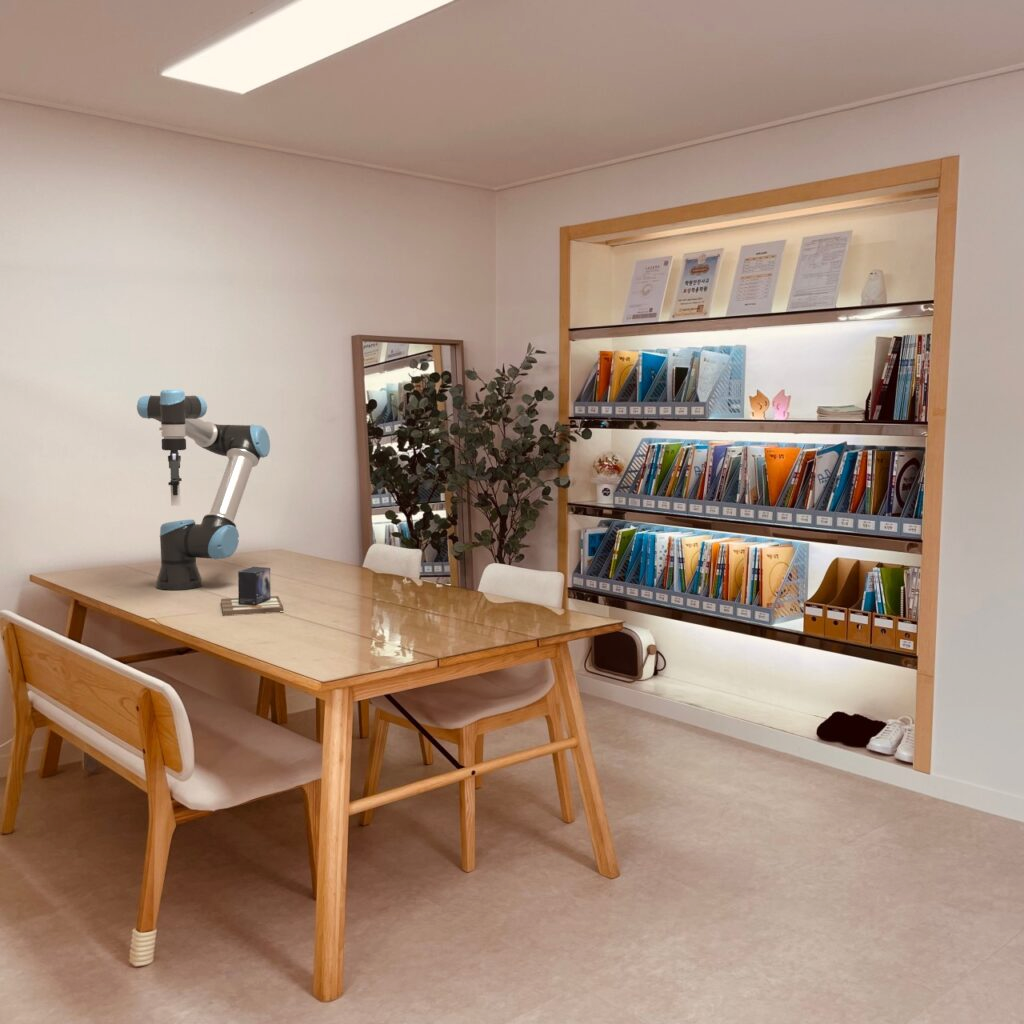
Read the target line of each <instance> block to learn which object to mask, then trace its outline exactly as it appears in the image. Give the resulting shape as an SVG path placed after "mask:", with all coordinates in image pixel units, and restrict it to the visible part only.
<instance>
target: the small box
mask: <svg viewBox="0 0 1024 1024" xmlns="http://www.w3.org/2000/svg"><path fill="white" fill-rule="evenodd" d="M237 575H238V579H237V584H238V585H237V586H238V592H237V593H238V596H237V598H238V604H246V605H257V604H260V603H262V602H265V601H267V600H270V599H271V596H272V595H271V594H272V592H271V567H261V566H251V567H248V568H245V569H241V570H239V571H238V572H237Z"/></svg>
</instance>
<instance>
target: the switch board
mask: <svg viewBox="0 0 1024 1024" xmlns="http://www.w3.org/2000/svg"><path fill="white" fill-rule="evenodd" d="M220 604H221V605H222V606H221V611H223V612H222V616H223V615H227V616H235V615H234V614H245V615H251V614H250V613H263V614H267V613H266V612H280V611H284V605H283V604H282V601H281V600H280V597H279V595H271V599H270V600H267V601H265V602H262V603H260V604H257V605H246V604H238V597H232V598H231V597H230V598H220ZM280 613H281V612H280ZM232 614H233V615H232Z"/></svg>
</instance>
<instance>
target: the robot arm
mask: <svg viewBox="0 0 1024 1024" xmlns="http://www.w3.org/2000/svg"><path fill="white" fill-rule="evenodd" d="M136 410H137V414H138V415H139V416H140V417H141V418H142V419H148V420H151V419H153V420H155V421H158V422H160V426H161V427H159V429H158V430H159V431H161V438H162V439H161V450H163V451H169V452H170V453H169V455H168V456H167V461H168V468H169V469H170V482H168V483H167V484H168V486H170V504H171V505H170V506H174V507H175V506H176V507H177V506H181V482H182V481H183V480H182V477H180V468H181V459H182V457H181V455H179V451H185V450H187V438H185V437H188V438H190V439H192V440H193V441H194V442H195V444H196V445H197V446H199V447H201V448H202V449H205V450H207V452H208V451H209V452H210V453H213V454H216V455H218V456H222V457H227V458H228V462H227V464H226V467H225V469H224V472H223V475H222V478H221V481H220V484H219V486H218V489H217V491H216V494H215V498H214V501H213V503H212V506H211V509H210V511H209V513H207V514H205V515H204V516H203V518H202V520H201V523H199V524H198V523H196V521H195V519H182V520H175V521H169V522H165V523H162V524H161V526H160V531H159V538H160V539H159V541H160V544H159V545H160V568H159V572H158V576H157V577H156V589H158V588H159V589H160V590H164V589H167V590H168V591H181V589H183V590H191V589H192V590H193V589H196V588H200V587H202V586H203V581H202V576H201V574H200V570H199V567H198V565H197V559H213V560H221V559H222V560H223V559H228V558H230V557H232V556H233V555H234V554H235V552H236V550H237V548H238V546H239V542H240V541H239V538H240V535H239V531H238V528H237V524H236V523H235V519H236V517H237V513H238V510H239V507H240V504H241V500H242V498H243V495H244V492H245V489H246V487H247V484H248V481H249V478H250V476H251V472H252V468H254V467H257V466H258V464H259V462H260V459H262V458H263V459H265V457H268V455H270V450H271V441H270V436H269V433H268V431H267V429H266V428H265V427H264V426H262V425H259V424H258V425H255V424H250V425H249V424H247V425H245V424H216V423H213V422H212V421H204V420H202V419H201V418H203V417H204V416H205V415H206V413H207V411H208V405H207V401H206V400H205V399H204V397H202V396H198V395H185V391H184V390H183V389H162V390H161V391H160V393H159V395H152V394H150V395H142V396H141V397H139V398H138V400H137V405H136Z"/></svg>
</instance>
